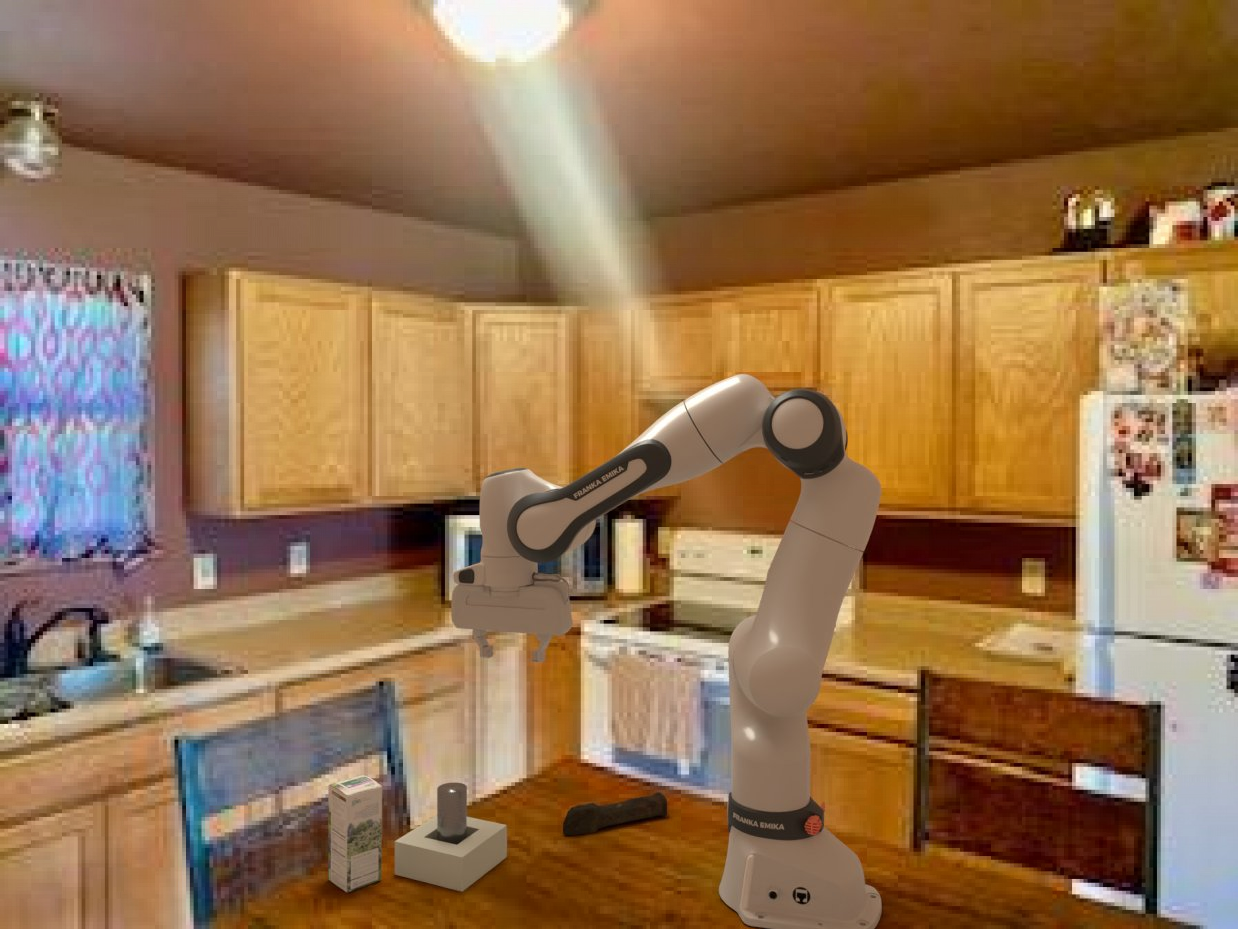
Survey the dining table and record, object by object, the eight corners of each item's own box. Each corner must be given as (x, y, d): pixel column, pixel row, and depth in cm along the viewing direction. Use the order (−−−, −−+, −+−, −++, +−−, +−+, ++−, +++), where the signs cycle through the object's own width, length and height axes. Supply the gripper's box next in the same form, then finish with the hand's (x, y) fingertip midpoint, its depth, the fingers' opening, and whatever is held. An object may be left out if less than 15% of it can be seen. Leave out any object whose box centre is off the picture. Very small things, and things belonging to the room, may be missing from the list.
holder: (506, 857, 143) (506, 825, 143) (462, 891, 132) (462, 857, 132) (442, 842, 148) (442, 811, 148) (394, 874, 137) (394, 841, 137)
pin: (472, 863, 141) (472, 785, 141) (455, 875, 137) (455, 795, 137) (448, 857, 143) (448, 780, 142) (431, 869, 139) (431, 790, 138)
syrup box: (362, 867, 139) (362, 772, 139) (383, 881, 135) (382, 783, 135) (327, 880, 135) (326, 782, 135) (347, 895, 131) (346, 794, 131)
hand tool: (657, 811, 161) (657, 785, 161) (668, 819, 158) (669, 793, 158) (557, 831, 153) (557, 803, 153) (566, 841, 150) (566, 812, 149)
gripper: (577, 571, 143) (580, 659, 144) (466, 566, 152) (469, 650, 152) (559, 577, 138) (561, 669, 138) (444, 572, 146) (447, 659, 146)
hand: (512, 659), depth 145 cm, fingers open, 8 cm apart
